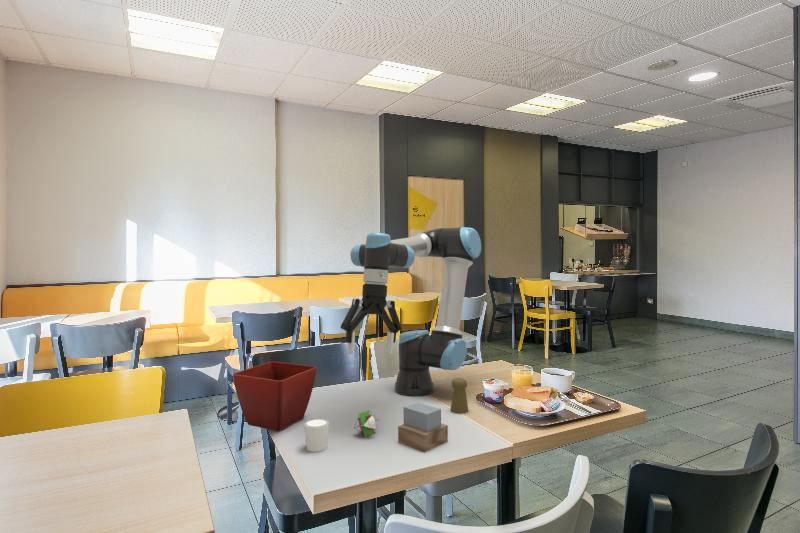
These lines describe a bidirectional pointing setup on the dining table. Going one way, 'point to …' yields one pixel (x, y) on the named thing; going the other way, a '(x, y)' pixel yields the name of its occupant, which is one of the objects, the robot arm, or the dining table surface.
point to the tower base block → (422, 437)
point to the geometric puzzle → (367, 423)
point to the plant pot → (274, 393)
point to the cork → (459, 396)
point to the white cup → (316, 434)
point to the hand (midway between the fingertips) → (370, 353)
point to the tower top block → (422, 417)
